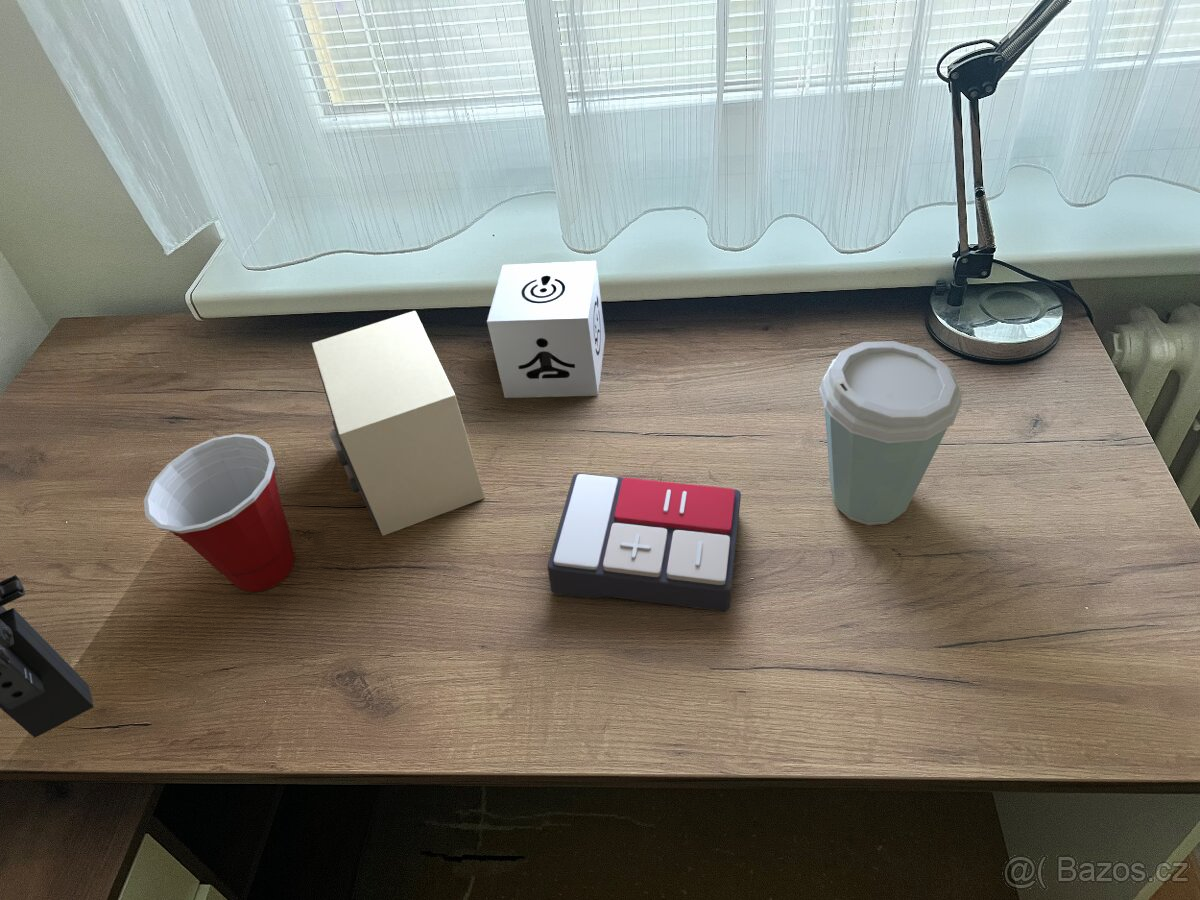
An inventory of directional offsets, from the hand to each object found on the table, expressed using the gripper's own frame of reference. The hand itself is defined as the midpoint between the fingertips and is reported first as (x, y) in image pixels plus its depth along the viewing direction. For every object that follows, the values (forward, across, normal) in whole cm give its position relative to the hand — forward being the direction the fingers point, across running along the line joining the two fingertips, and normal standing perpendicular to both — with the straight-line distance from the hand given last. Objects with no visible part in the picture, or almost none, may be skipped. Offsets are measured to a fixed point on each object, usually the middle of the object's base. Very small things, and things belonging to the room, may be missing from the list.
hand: (62, 710), depth 42 cm
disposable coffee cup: (+25, 0, -57) cm, 62 cm away
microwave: (+24, +30, -26) cm, 46 cm away
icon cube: (+25, +35, -45) cm, 62 cm away
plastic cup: (+25, +28, -9) cm, 38 cm away
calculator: (+25, +8, -38) cm, 46 cm away
